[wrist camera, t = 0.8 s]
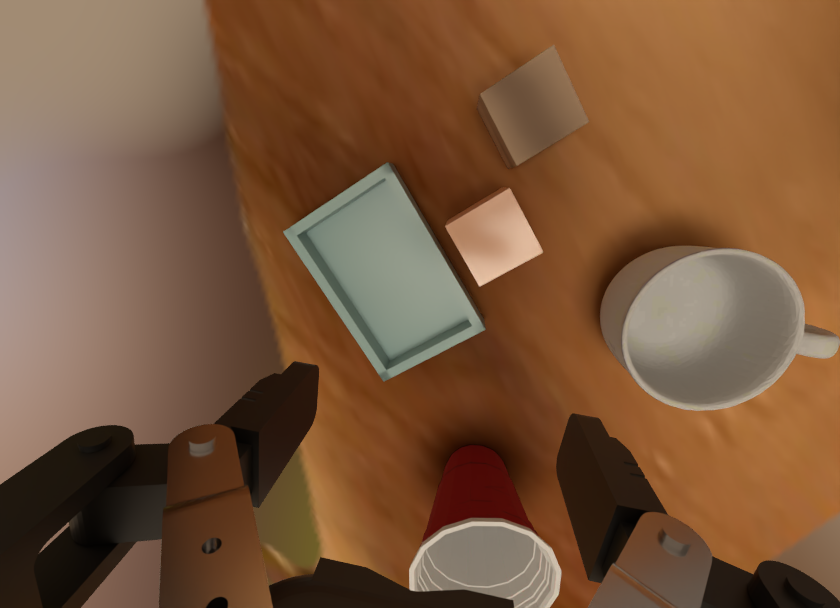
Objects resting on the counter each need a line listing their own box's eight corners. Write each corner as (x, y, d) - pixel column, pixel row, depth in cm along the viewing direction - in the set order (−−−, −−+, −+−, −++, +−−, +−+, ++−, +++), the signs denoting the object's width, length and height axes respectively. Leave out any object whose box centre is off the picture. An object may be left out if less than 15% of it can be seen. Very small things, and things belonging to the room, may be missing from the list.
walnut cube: (537, 68, 28) (553, 44, 23) (567, 132, 29) (589, 121, 24) (476, 108, 29) (479, 94, 24) (507, 168, 30) (516, 165, 25)
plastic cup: (539, 507, 39) (572, 640, 28) (434, 515, 41) (424, 644, 29) (526, 414, 36) (556, 520, 25) (413, 427, 38) (393, 532, 26)
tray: (393, 163, 31) (387, 162, 28) (484, 319, 34) (485, 329, 31) (295, 228, 33) (282, 232, 31) (388, 368, 36) (383, 381, 34)
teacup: (565, 338, 34) (596, 383, 26) (621, 216, 30) (675, 227, 23) (719, 386, 34) (795, 446, 26) (792, 270, 30) (904, 298, 23)
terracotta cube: (502, 187, 31) (509, 187, 26) (531, 241, 32) (543, 252, 27) (447, 220, 32) (445, 226, 27) (476, 271, 33) (479, 286, 28)
